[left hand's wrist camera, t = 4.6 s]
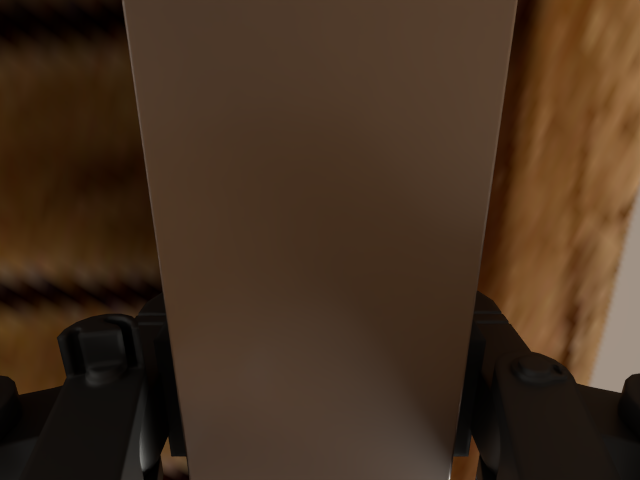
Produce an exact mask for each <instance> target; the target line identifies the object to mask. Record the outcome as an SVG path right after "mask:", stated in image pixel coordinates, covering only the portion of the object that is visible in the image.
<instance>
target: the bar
mask: <svg viewBox="0 0 640 480" xmlns="http://www.w3.org/2000/svg"><path fill="white" fill-rule="evenodd" d="M517 1H518V0H122V4H123V12H124V19H125V26H126V33H127V40H128V47H129V54H130V61H131V68H132V75H133V82H134V89H135V97H136V104H137V111H138V118H139V125H140V132H141V139H142V146H143V153H144V160H145V167H146V174H147V182H148V189H149V196H150V203H151V210H152V217H153V224H154V231H155V238H156V245H157V252H158V259H159V266H160V274H161V281H162V288H163V295H164V302H165V309H166V316H167V323H168V330H169V337H170V344H171V351H172V359H173V366H174V373H175V380H176V387H177V394H178V401H179V408H180V415H181V422H182V429H183V436H184V443H185V451H186V458H187V465H188V472H189V479H190V480H450V476H451V469H452V462H453V455H454V448H455V441H456V434H457V427H458V420H459V413H460V405H461V398H462V391H463V384H464V377H465V370H466V363H467V356H468V349H469V342H470V335H471V327H472V320H473V313H474V306H475V299H476V292H477V285H478V278H479V271H480V264H481V257H482V249H483V242H484V235H485V228H486V221H487V214H488V207H489V200H490V193H491V186H492V179H493V171H494V164H495V157H496V150H497V143H498V136H499V129H500V122H501V115H502V108H503V101H504V93H505V86H506V79H507V72H508V65H509V58H510V51H511V44H512V37H513V30H514V23H515V15H516V8H517Z"/></svg>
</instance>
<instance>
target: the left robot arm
mask: <svg viewBox="0 0 640 480" xmlns="http://www.w3.org/2000/svg"><path fill="white" fill-rule="evenodd" d="M57 340H58V344H59V348H60V352H61V356H62V360H63V364H64V368H65V372H66V376H67V378H66V380H65V382H64V384H63V386H59V387H55V388H51V389H46V390H41V391H37V392H32V393H27V394H22V395H18V391H17V388H16V385H15V382H14V381H13V380H12V379H10V378H9V377H7V376H0V480H163V468H162V461H161V456H160V454H161V452H162V449H163V447H164V445H165V442H166V440H167V437H169V444H170V450H171V456H186V451H185V443H184V436H183V429H182V422H181V415H180V408H179V401H178V394H177V387H176V380H175V373H174V366H173V359H172V351H171V344H170V337H169V330H168V323H167V316H166V309H165V302H164V295H163V292H162V293H160V294H159V295H157V296H156V297H154V298H152V299H151V300H149V301H148V302H147V303H146V304H145V305H144V307H143V308H142V309H141V311H140V312H139V315H138V316H136V317H135V319H134V318H133V317H132V316H128V315H124V314H104V315H98V316H93V317H90V318H87V319H84V320H81V321H79V322H76V323H75V324H73V325H71V326H70V327H68V328H66V329H65V330H64V331H63V332H62V333H61V334H60V335H59V336H58V337H57ZM471 435H472V436H473V438H474V441H475V443H476V445H477V448H478V450H479V453H480V456H479V461H478V467H477V473H476V479H475V480H640V374H634V375H631V376H630V377H629V378H627V379H626V380H625V383H624V387H623V390H622V393H618V392H613V391H608V390H603V389H598V388H593V387H588V386H584V385H581V384H577V383H576V381H575V379H574V377H573V376H572V374H571V373H570V372H569V371H568V369H567V368H566V367H564V366H563V365H562V364H560V363H559V362H557V361H556V360H554V359H552V358H549V357H547V356H545V355H542V354H539V353H535V352H531V351H530V349H529V348H528V347H527V345H526V344H525V343H524V341H523V340H522V339H521V337H520V336H519V335H518V333H517V332H516V331H515V329H514V328H513V327H512V325H511V324H509V323H508V320H507V319H506V317H505V316H504V315H503V314H501V311H500V309H499V308H498V307H497V305H496V304H495V303H494V301H493V300H491V299H490V298H488V297H487V296H485V295H483V294H482V293H480V292H479V291H477V292H476V299H475V306H474V313H473V320H472V327H471V335H470V342H469V349H468V356H467V363H466V370H465V377H464V384H463V391H462V398H461V405H460V413H459V420H458V427H457V434H456V441H455V448H454V455H453V456H468V454H469V448H470V442H471Z"/></svg>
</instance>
